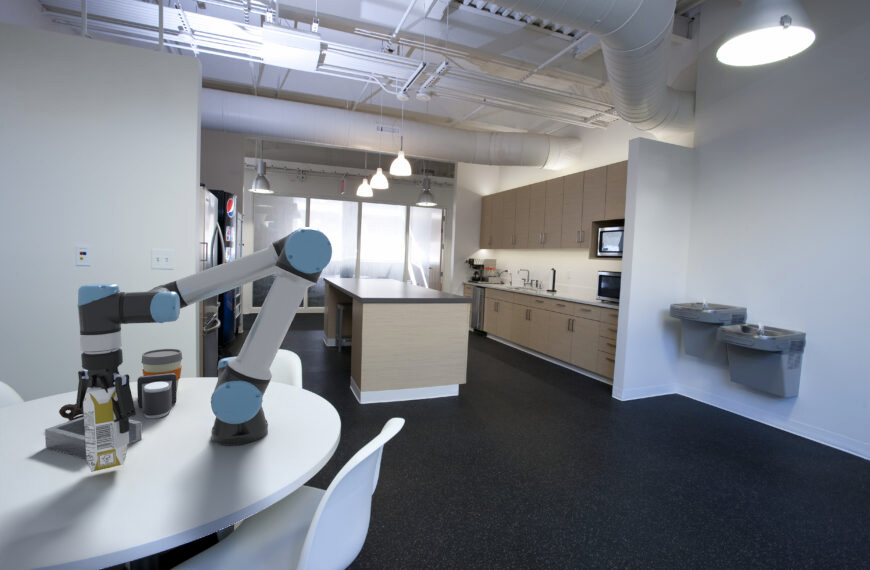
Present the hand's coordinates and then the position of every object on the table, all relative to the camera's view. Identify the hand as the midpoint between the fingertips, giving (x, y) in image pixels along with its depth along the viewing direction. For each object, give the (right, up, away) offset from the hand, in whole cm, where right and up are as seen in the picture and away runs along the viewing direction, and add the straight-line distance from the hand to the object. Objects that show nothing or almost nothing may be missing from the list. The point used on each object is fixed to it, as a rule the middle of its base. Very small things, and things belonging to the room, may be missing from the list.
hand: (107, 441), depth 99 cm
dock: (-14, -6, +14) cm, 21 cm away
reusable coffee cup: (-22, -2, +54) cm, 58 cm away
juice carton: (0, -5, 0) cm, 5 cm away
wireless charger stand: (-13, -4, +37) cm, 39 cm away
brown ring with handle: (-30, -4, +29) cm, 42 cm away
